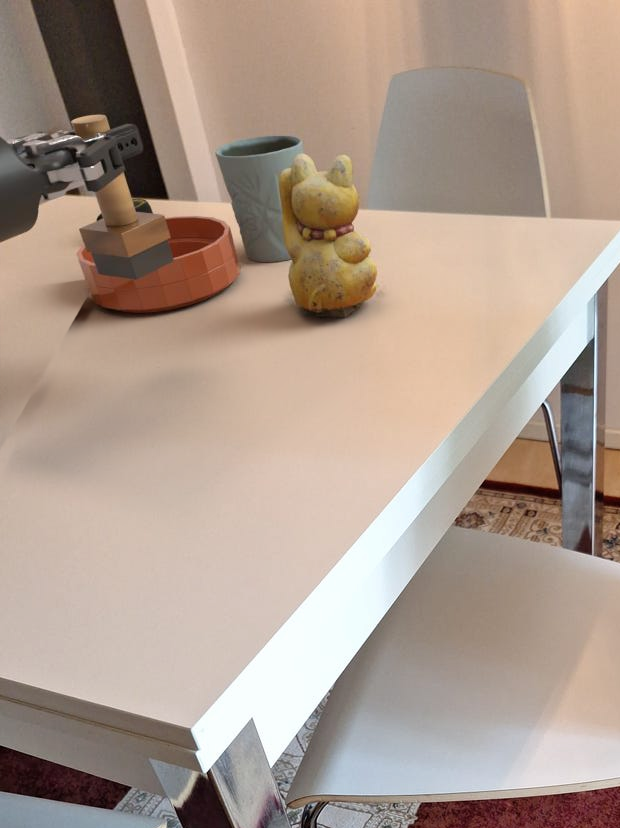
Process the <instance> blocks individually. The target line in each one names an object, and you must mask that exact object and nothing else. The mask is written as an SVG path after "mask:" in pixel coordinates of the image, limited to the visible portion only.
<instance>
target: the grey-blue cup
mask: <svg viewBox="0 0 620 828" xmlns="http://www.w3.org/2000/svg"><path fill="white" fill-rule="evenodd" d="M214 153H215V157H216V160H217V163H218V166H219V168H220V173H221V175H222V179H223V183H224V184H225V187H226V190H227V193H228V195H229V197H230V200H231V202H230V203H231V205H230V206H231V207H232V211H233V214H234V218H235V221H236V224H237V225H238V228H239V234H240V237H241V241H242V244H243V248H244V252H245V255H246V257H247V259H249V260H251V261H254V262H258V263H277V262H283V261H288V260H289V261H290V260H292V259H291V257H290V255H289V253H288V251H287V249H286V245H285V241H284V236H283V226H282V207H281V199H280V192H279V175H280V173H281V172H282V171H283V170H284V169H287V168H291V167H292V163H293V159H294V158H295V156H297V155H298V154H301V153H303V154H304V147H303V141H302V139H301V138H300V137H298V136H292V135H263V136H257V137H256V136H255V137H249V138H244V139H243V138H242V139H239V140H235V141H233V142H229V143H226V144H223V145H221V146H219V147H218V148H217V149H216V150H215V152H214Z"/></svg>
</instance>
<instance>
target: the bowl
mask: <svg viewBox="0 0 620 828" xmlns="http://www.w3.org/2000/svg"><path fill="white" fill-rule="evenodd" d="M165 220H166V223H167V227H168V230H169V234H170V237H171V238H170V239H168V242H169V246H170V249H171V252H172V256H173V259H174V261H173V262H171V263H169V264H167V265H165V266H163V267H161V268H159V269H157V270H155V271H153V272H151V273H149V274H147V275H145V276H143V277H141V278H139V279H137V280H133V279H127V278H120V277H113V276H106V275H100V274H98V271H97V269H96V266H95V263H94V260H93V257H92V254H91V253H90V252H87V250H86V248H85V245H84V243H83V244H82V245H80V247H79V248H78V250H77V251H76V253H75V254H76V255H75V256H76V258H77V260H78V263H79V266H80V268H81V270H82V275H83V276H84V279H85V282H86V285H87V288H88V290H89V293H90V296H91V299H92V301H93V303H95V304H97V305H99V306H101V307H103V308H106V309H112V310H115V311H117V312H118V311H119V312H122V313H130V314H131V313H132V314H147V313H158V312H165V311H171V310H176V309H180V308H184V307H188V306H191V305H195V304H198V303H200V302H203V301H206V300H208V299H211V298H212V297H214V296H216V295H218V294H219V293H221V292H222V291H224V290H225V289H226V288H227V287H228V286H229V285H231V284H232V283H233V282H234V281H235V280H236V279H238V277H239V275H240V271H241V266H240V262H239V258H238V253H237V248H236V245H235V241H234V238H233V234H232V228H231V226H230V225H229V224H228V223H227V222H226V221H225V220H222V219H219V218H215V217H211V216H203V215H202V216H201V215H183V216H168V217H165Z"/></svg>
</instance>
